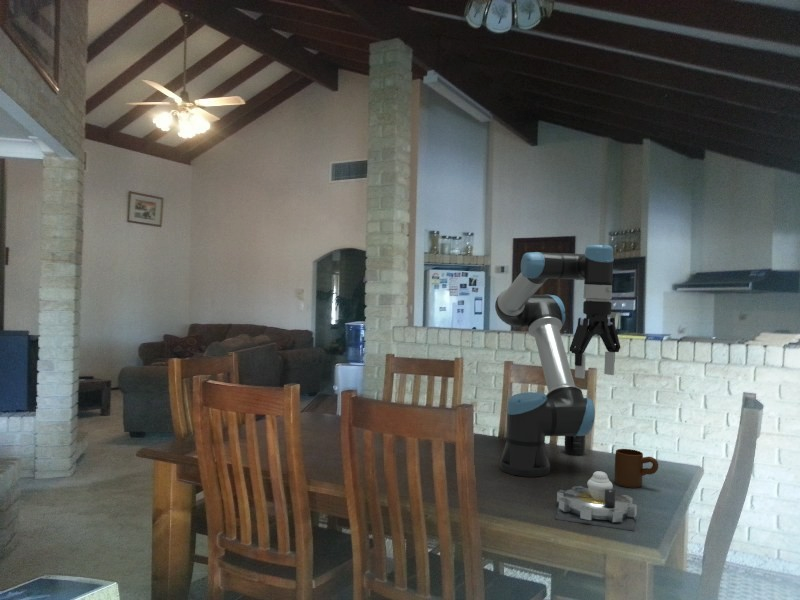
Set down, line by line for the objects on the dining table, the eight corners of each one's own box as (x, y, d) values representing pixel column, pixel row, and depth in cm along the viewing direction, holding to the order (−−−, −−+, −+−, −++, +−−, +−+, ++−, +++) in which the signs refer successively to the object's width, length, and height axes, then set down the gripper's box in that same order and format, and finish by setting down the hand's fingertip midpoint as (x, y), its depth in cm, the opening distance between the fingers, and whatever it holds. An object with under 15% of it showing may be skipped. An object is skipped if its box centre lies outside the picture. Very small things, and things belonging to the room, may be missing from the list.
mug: (661, 487, 175) (662, 455, 175) (653, 494, 170) (654, 460, 169) (619, 478, 183) (621, 447, 183) (610, 484, 177) (611, 451, 177)
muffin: (599, 504, 150) (600, 475, 150) (581, 496, 155) (582, 468, 155) (617, 501, 152) (618, 473, 152) (599, 493, 158) (600, 466, 158)
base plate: (555, 518, 149) (555, 514, 149) (562, 495, 166) (562, 491, 166) (634, 530, 143) (634, 526, 143) (633, 505, 160) (633, 501, 160)
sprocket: (581, 524, 143) (582, 497, 143) (543, 496, 161) (544, 472, 161) (652, 519, 147) (653, 493, 147) (608, 493, 166) (609, 469, 166)
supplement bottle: (587, 452, 211) (588, 418, 211) (581, 457, 205) (582, 421, 205) (567, 449, 215) (568, 415, 215) (561, 453, 209) (562, 418, 209)
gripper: (581, 300, 161) (578, 381, 162) (634, 301, 176) (632, 375, 177) (558, 299, 167) (555, 377, 168) (612, 300, 182) (609, 371, 183)
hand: (594, 376), depth 172 cm, fingers open, 13 cm apart
